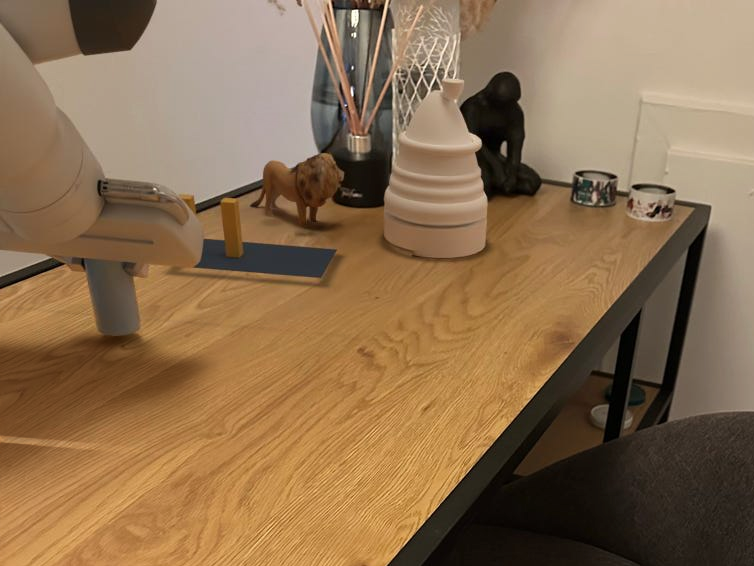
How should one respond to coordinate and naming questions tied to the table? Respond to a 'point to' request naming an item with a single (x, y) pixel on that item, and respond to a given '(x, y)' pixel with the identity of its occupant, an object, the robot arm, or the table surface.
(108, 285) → the grey cylinder
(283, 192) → the lion figurine
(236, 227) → the post
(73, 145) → the robot arm
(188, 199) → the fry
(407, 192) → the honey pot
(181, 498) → the table surface
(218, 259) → the mat
